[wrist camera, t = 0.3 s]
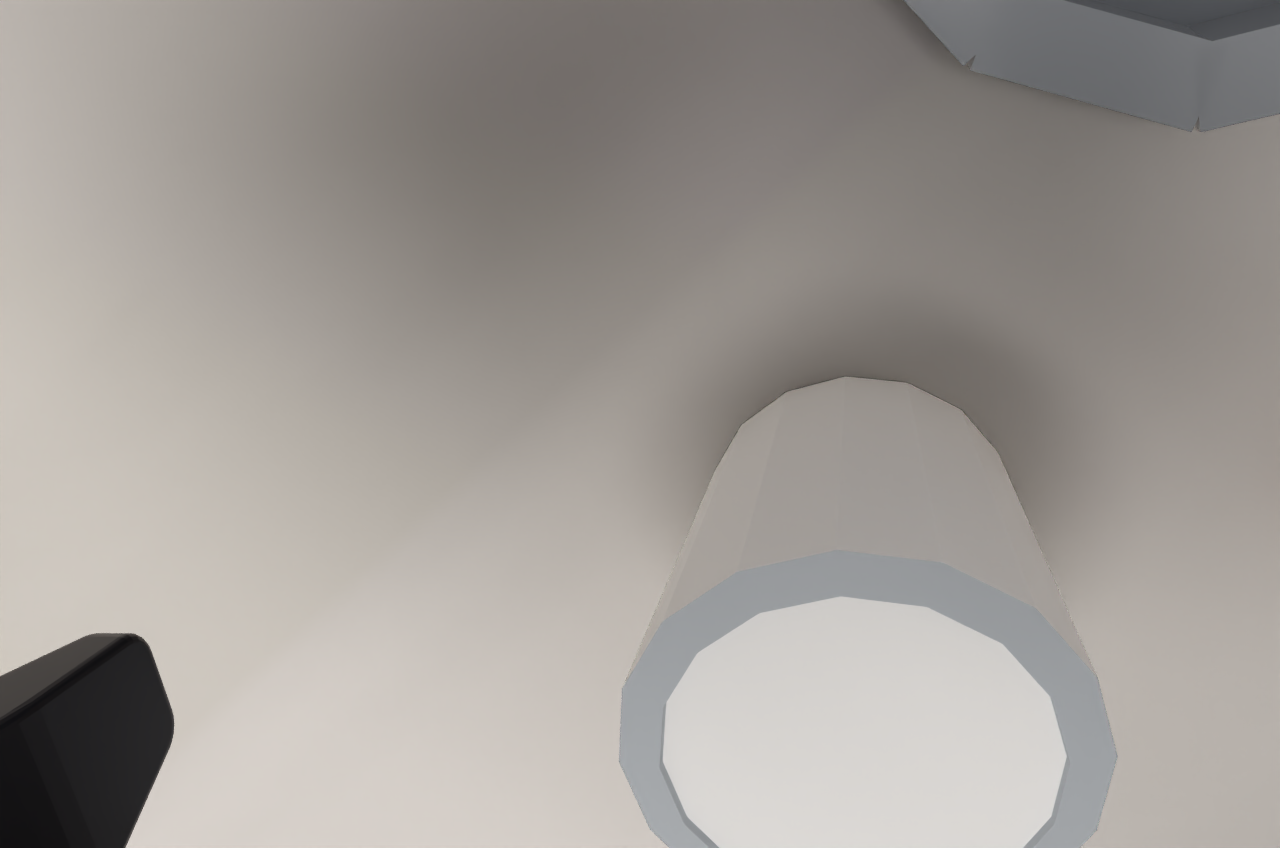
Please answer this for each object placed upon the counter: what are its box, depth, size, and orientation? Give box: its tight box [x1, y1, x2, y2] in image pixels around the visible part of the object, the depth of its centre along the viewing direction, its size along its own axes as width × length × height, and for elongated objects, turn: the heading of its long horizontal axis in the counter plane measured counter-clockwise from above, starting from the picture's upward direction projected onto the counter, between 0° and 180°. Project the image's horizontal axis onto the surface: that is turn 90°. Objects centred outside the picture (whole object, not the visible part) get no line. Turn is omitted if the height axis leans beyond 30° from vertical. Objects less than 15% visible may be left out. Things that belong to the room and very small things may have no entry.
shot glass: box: [619, 376, 1118, 848], centre depth 20 cm, size 7×7×7 cm
